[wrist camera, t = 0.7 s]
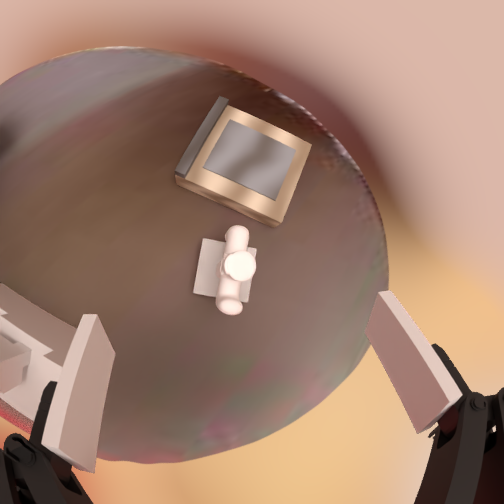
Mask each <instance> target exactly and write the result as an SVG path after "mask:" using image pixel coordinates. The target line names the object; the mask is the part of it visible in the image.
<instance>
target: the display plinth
mask: <svg viewBox="0 0 504 504" xmlns="http://www.w3.org/2000/svg"><path fill="white" fill-rule="evenodd" d="M228 101H229V100H228V99H226V98H223V97H221V96H220V97H219V98H218V100H217V101H216V103H215V104H214V106H213V107H212V109H211V110H210V112H209V113H208V115H207V117H206V118H205V120H204V121H203V123H202V125H201V126H200V128H199V129H198V131H197V133H196V134H195V136H194V138H193V139H192V141H191V143H190V144H189V146H188V148H187V150H186V151H185V153H184V155H183V157H182V158H181V160H180V162H179V164H178V165H177V167H176V169H175V177H176V185H179V186H181V187H183V188H186V189H188V190H190V191H192V192H195V193H197V194H199V195H201V196H204V197H206V198H208V199H210V200H213V201H215V202H217V203H219V204H222V205H224V206H226V207H228V208H230V209H233V210H235V211H237V212H239V213H241V214H244V215H246V216H248V217H250V218H252V219H254V220H257V221H259V222H261V223H263V224H265V225H267V226H270V227H272V228H275V227H276V226H278V225H279V224H281V223H282V221H283V218H284V216H285V213H286V210H287V208H288V205H289V203H290V200H291V198H292V195H293V193H294V190H295V187H296V185H297V182H298V180H299V177H300V174H301V172H302V169H303V167H304V164H305V161H306V159H307V156H308V153H309V151H310V148H311V146H312V145H311V144H309V143H307V142H305V141H303V140H301V139H300V138H298V137H296V136H294V135H292V134H290V133H288V132H286V131H284V130H282V129H280V128H278V127H275V126H273V125H271V124H269V123H267V122H265V121H263V120H261V119H258V118H256V117H254V116H252V115H249V114H247V113H245V112H243V111H240V110H238V109H236V108H233V107H231V106H228Z"/></svg>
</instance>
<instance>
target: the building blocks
mask: <svg viewBox="0 0 504 504" xmlns="http://www.w3.org/2000/svg"><path fill="white" fill-rule="evenodd" d="M76 331H77V328H75V327H73V326H71V325H69V324H67V323H66V322H64V321H62V320H60V319H58V318H57V317H55V316H53V315H51V314H50V313H48V312H46V311H45V310H43V309H41V308H40V307H38V306H36V305H35V304H33V303H31V302H30V301H28V300H27V299H25V298H24V297H22V296H21V295H19V294H17V293H16V292H15V291H13V290H12V289H10V288H9V287H7V286H6V285H4V284H3V283H0V398H1V399H2V400H4V401H5V402H6V403H8V404H9V405H10V406H12V407H13V408H15V409H16V410H17V411H19V412H20V413H22V414H23V415H25V416H26V417H28V418H29V419H31V420H32V421H34V420H35V416H36V413H37V410H38V406H39V403H40V402H41V400H40V399H41V396H42V393H43V390H44V388H45V387H46V386H47V384H48V383H49V382H50V381H56V382H58V380H59V377H60V374H61V371H62V368H63V365H64V362H65V359H66V357H67V354H68V351H69V349H70V346H71V343H72V341H73V338H74V336H75V333H76Z"/></svg>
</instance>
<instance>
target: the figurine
mask: <svg viewBox="0 0 504 504" xmlns="http://www.w3.org/2000/svg"><path fill="white" fill-rule="evenodd" d="M225 239H226V243H225V242H220V241H215V240H210V239H205V238H203V242H202V247H201V252H200V257H199V263H198V268H197V274H196V279H195V285H194V291H193V293H196V294H201V295H207V296H212V297H216V306H217V308H218V309H219V310H220V311H221V312H223V313H225V314H228V315H237V314H239V313H240V312H241V311H242V309H243V306H242V303H241V302H248V298H249V292H250V286H251V280H252V276H253V274H254V273H255V270H256V262H255V256H256V250H257V249H255V248H250V247H247V246H248V240H249V231H248V230H247V228H245V227H243V226H240V225H235V226H232V227H230V228H229V229H228V231H227V232H226V234H225ZM240 301H241V302H240Z"/></svg>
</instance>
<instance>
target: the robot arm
mask: <svg viewBox="0 0 504 504" xmlns="http://www.w3.org/2000/svg"><path fill="white" fill-rule="evenodd" d="M365 334H366V336H367V337H368V339H369V341H370V343H371V345H372V346H373V348H374V350H375V352H376V354H377V355H378V357H379V359H380V361H381V363H382V365H383V367H384V368H385V370H386V372H387V374H388V376H389V378H390V380H391V382H392V384H393V386H394V387H395V389H396V392H397V393H398V395H399V397H400V399H401V401H402V403H403V405H404V407H405V409H406V411H407V413H408V415H409V418H410V420H411V422H412V423H413V426H414V428H415V430H416V432H417V434H419V433H421V432H423V431H425V430H427V429H429V428H431V427H432V426H433V425H434V424H435V423H436V422H438V424H439V425H438V426H437V427H436V428H435V429H434V430H433V431H432V432H431V433H430V434H429V436H428V437H429V438H430V437H431V436H433V435H434V434H435V436H434V437H433V439H434V441H433V445H432V449H431V453H430V457H429V461H428V464H427V467H426V471H425V474H424V477H423V480H422V483H421V486H420V489H419V491H418V494H417V497H416V499H415V502H414V504H504V388H502V389H501V390H500V391H499V392H498V393H497V394H496V395H490V396H483V395H482V394H480V393H478V392H472V391H471V390H470V389H469V387H468V386H467V384H466V383H465V381H464V380H463V378H462V377H461V375H460V373H459V372H458V370H457V369H456V367H454V364H453V363H452V361H451V360H449V359H450V358H449V357H448V356H447V354H446V353H445V351H444V350H443V349H442V348H441V347H439V346H438V345H437V344H433V345H430V343H429V342H428V341H427V339H426V338H425V336H424V335H423V333H422V332H421V331H420V329H419V328H418V326H417V325H416V323H415V322H414V321H413V319H412V318H411V317H410V315H409V314H408V313H407V311H406V310H405V309H404V307H403V306H402V305H401V303H400V302H399V301H398V300H397V298H396V297H395V295H394V294H393V293H392V291H391V290H389V291H383V292H378V294H377V297H376V300H375V303H374V306H373V309H372V312H371V315H370V318H369V321H368V323H367V326H366V329H365ZM114 358H115V352H114V350H113V348H112V346H111V343H110V341H109V339H108V337H107V335H106V333H105V331H104V328H103V326H102V324H101V322H100V319H99V317H98V315H97V314H83V316H82V319H81V321H80V324H79V326H78V328H77V331H76V333H75V336H74V338H73V341H72V343H71V346H70V349H69V351H68V354H67V357H66V359H65V362H64V365H63V368H62V371H61V374H60V377H59V380H58V382H56V381H50V382H49V383H48V384H47V386H46V387H45V388H44V390H43V393H42V396H41V399H40V400H41V402H40V403H39V406H38V410H37V413H36V416H35V420H34V424H33V427H32V431H31V435H30V439H29V441H28V440H27V439H26V438H24V437H23V436H22V435H21V434H17V433H14V434H11V435H9V436H8V437H7V438H6V440H5V442H4V450H2V449H0V504H93V502H92V501H91V499H90V498H89V497H88V495H87V494H86V492H85V490H84V489H83V487H82V486H81V484H80V483H79V481H78V479H77V478H76V476H75V474H74V473H73V472H72V471H71V468H72V466H74V467H75V468H77V469H79V470H82V471H87V472H91V473H95V464H96V456H97V448H98V440H99V434H100V427H101V421H102V415H103V409H104V404H105V399H106V394H107V389H108V384H109V379H110V375H111V370H112V366H113V362H114ZM495 425H496V431H495V432H493V430H492V428H493V427H494V426H495Z"/></svg>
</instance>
